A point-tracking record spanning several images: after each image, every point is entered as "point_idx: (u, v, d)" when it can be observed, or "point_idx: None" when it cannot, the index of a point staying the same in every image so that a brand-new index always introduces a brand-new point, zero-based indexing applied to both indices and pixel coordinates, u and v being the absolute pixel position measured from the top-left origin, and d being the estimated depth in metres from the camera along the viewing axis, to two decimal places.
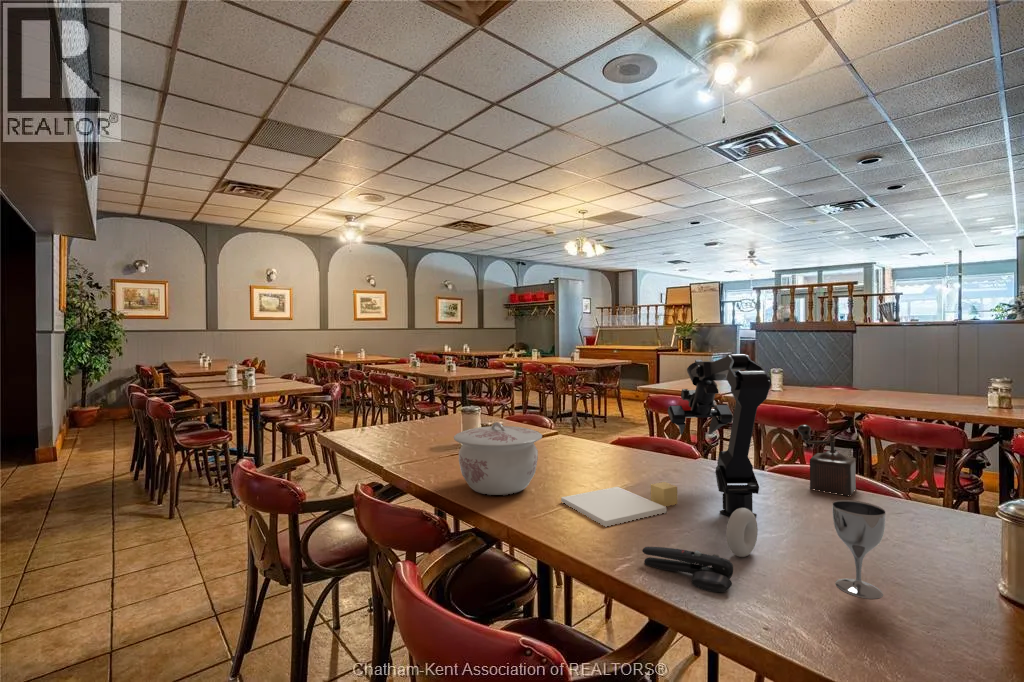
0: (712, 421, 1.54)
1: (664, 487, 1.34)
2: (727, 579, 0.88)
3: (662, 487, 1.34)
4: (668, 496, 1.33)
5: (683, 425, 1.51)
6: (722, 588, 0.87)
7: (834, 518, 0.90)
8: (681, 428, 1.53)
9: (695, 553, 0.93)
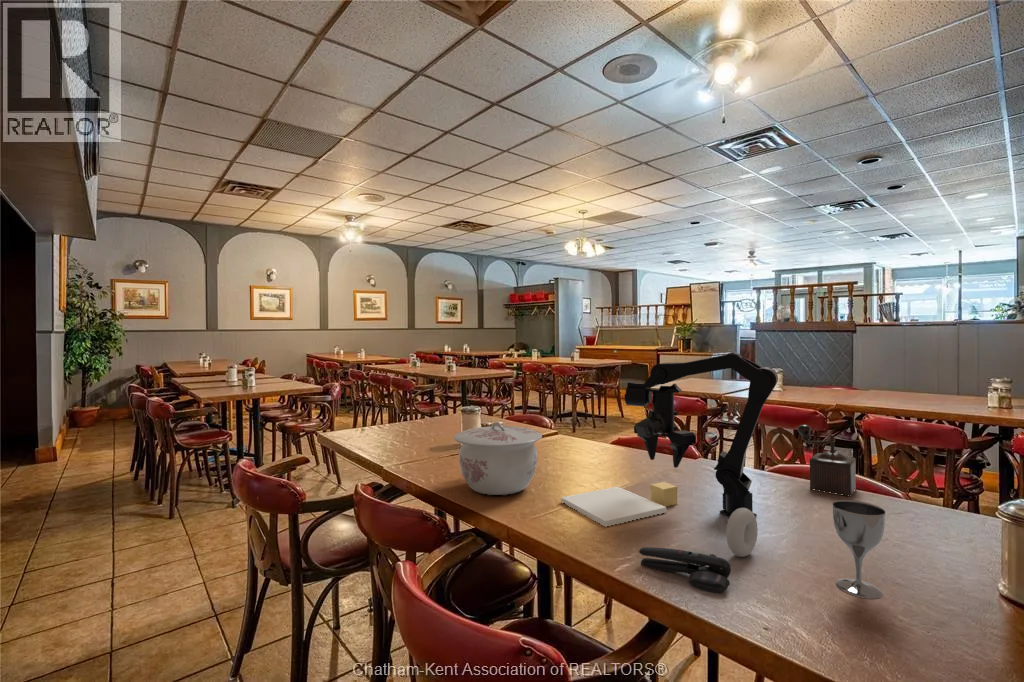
0: (650, 443, 1.40)
1: (664, 487, 1.34)
2: (725, 579, 0.88)
3: (661, 487, 1.34)
4: (667, 496, 1.33)
5: None
6: (720, 588, 0.87)
7: (834, 518, 0.90)
8: None
9: (692, 553, 0.93)
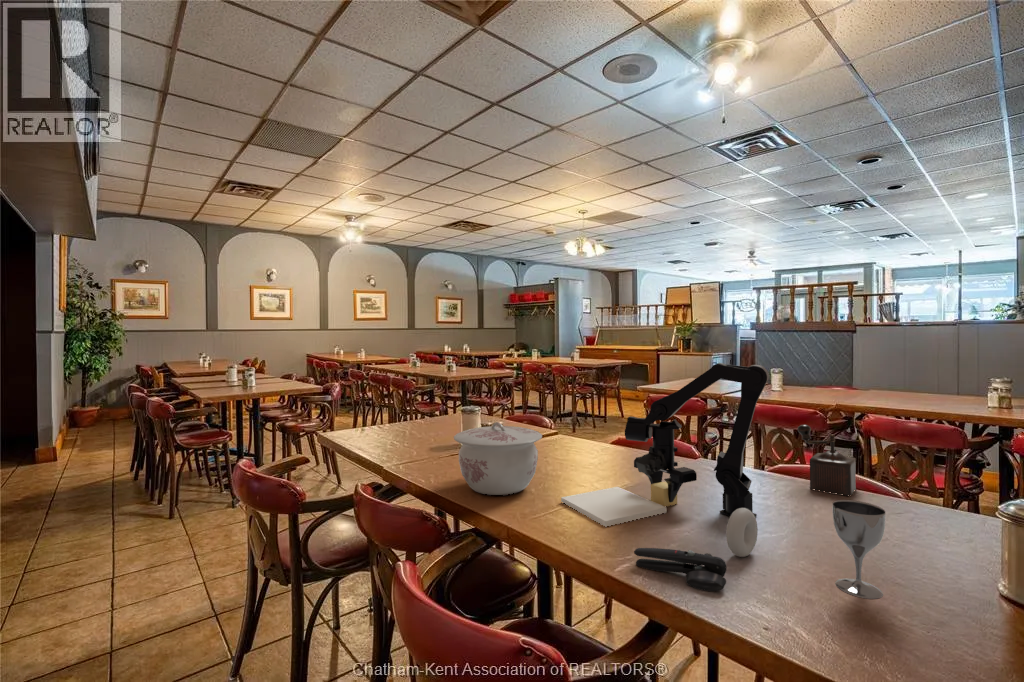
0: (655, 480, 1.38)
1: (664, 487, 1.33)
2: (721, 578, 0.89)
3: (661, 487, 1.34)
4: None
5: None
6: (717, 587, 0.88)
7: (834, 518, 0.90)
8: None
9: (688, 553, 0.93)
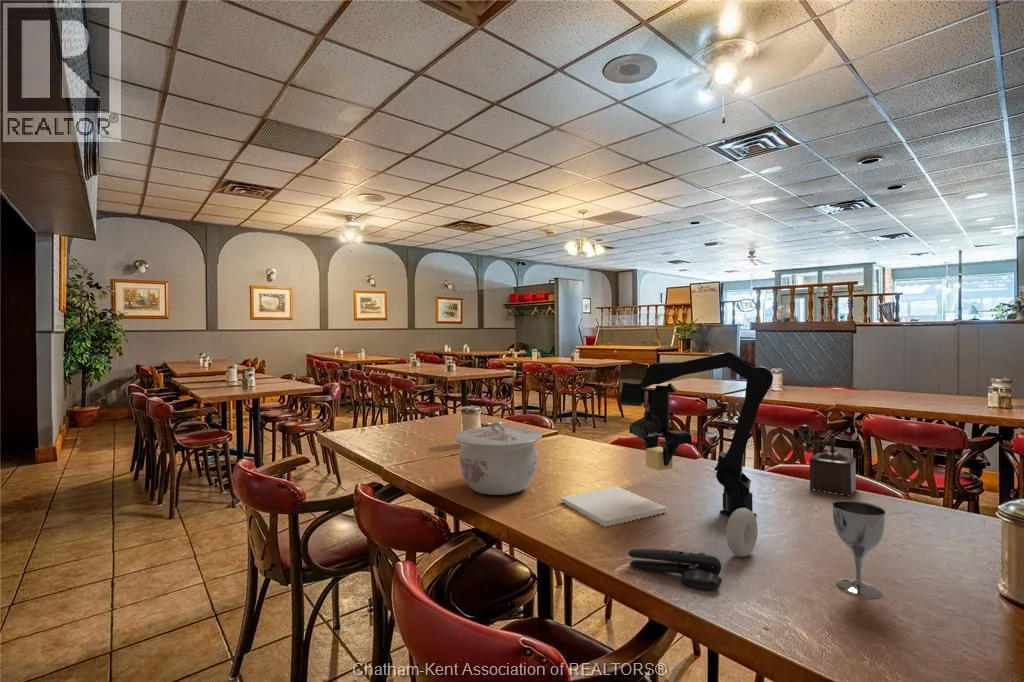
0: (650, 445, 1.37)
1: (659, 450, 1.33)
2: (717, 576, 0.89)
3: (657, 450, 1.33)
4: None
5: None
6: (714, 586, 0.88)
7: (834, 518, 0.90)
8: None
9: (683, 553, 0.93)
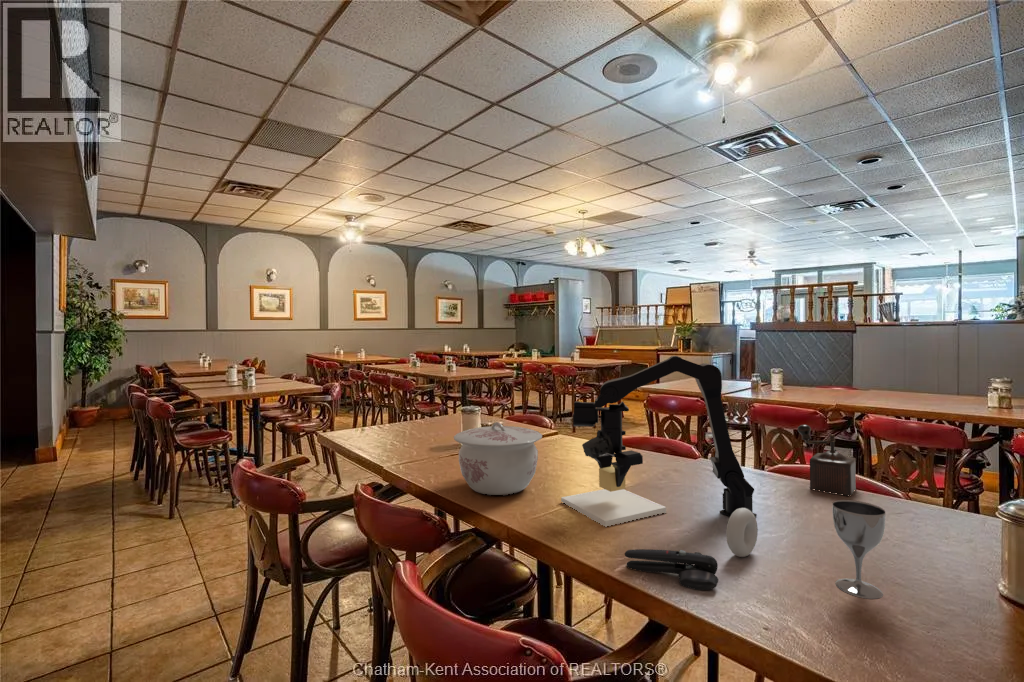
0: (603, 465, 1.34)
1: (611, 471, 1.30)
2: (714, 576, 0.90)
3: (609, 471, 1.30)
4: (615, 480, 1.29)
5: None
6: (711, 585, 0.88)
7: (834, 518, 0.90)
8: None
9: (680, 553, 0.93)
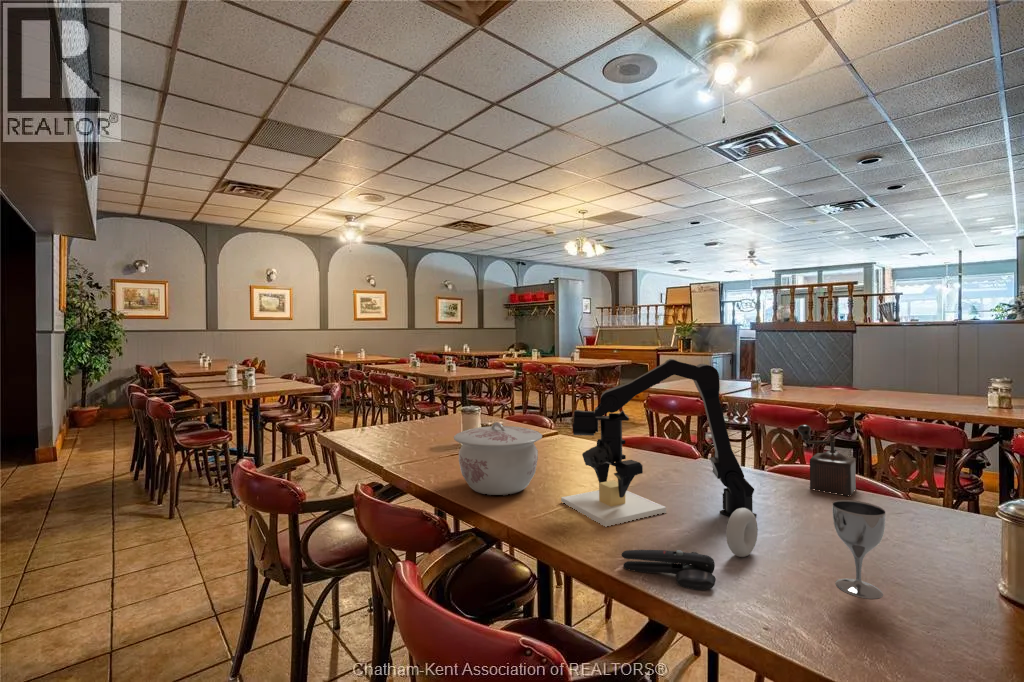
0: (601, 472, 1.36)
1: (611, 485, 1.30)
2: (711, 575, 0.90)
3: (609, 485, 1.30)
4: (615, 494, 1.29)
5: None
6: (709, 585, 0.88)
7: (834, 518, 0.90)
8: None
9: (677, 553, 0.93)
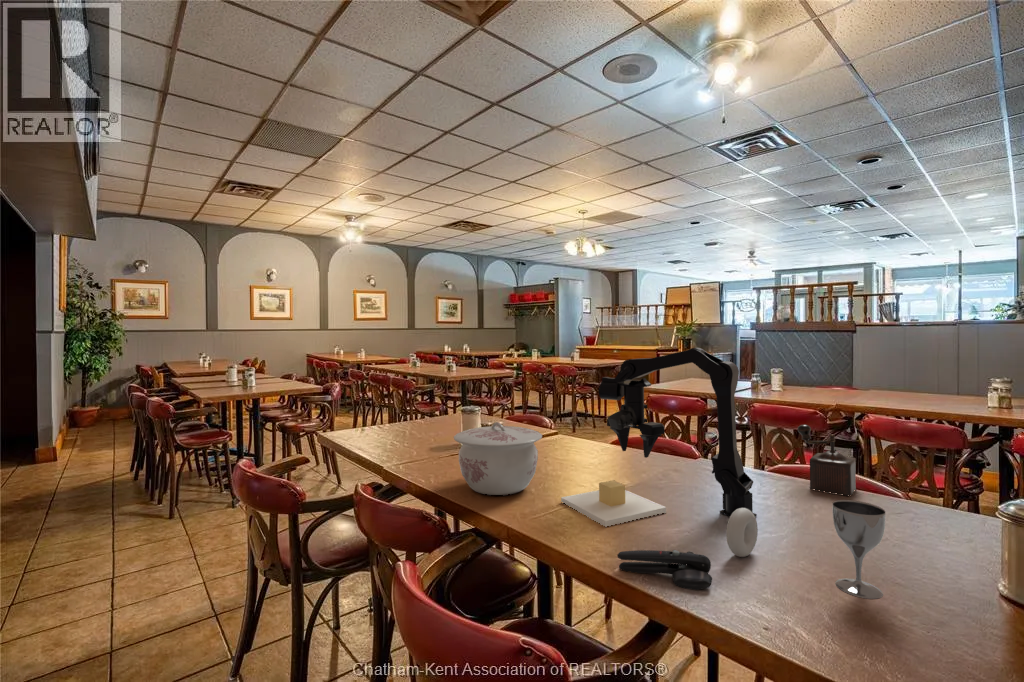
0: (622, 436, 1.47)
1: (611, 485, 1.30)
2: (708, 575, 0.90)
3: (609, 485, 1.30)
4: (615, 494, 1.29)
5: None
6: (705, 585, 0.88)
7: (834, 518, 0.90)
8: None
9: (674, 553, 0.93)
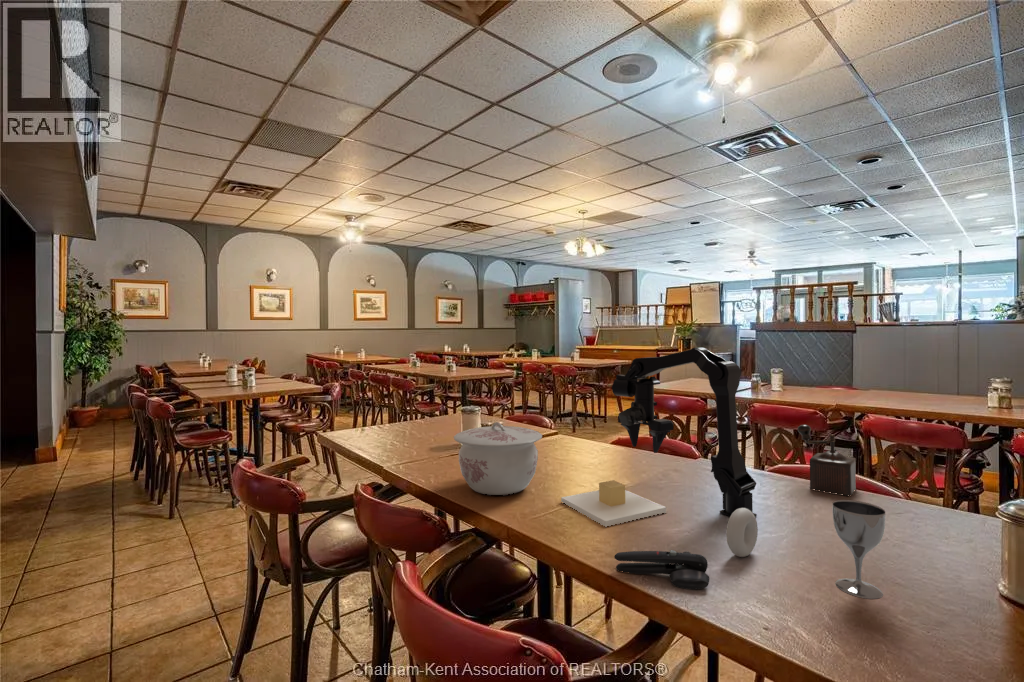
0: (632, 432, 1.52)
1: (611, 485, 1.30)
2: (705, 574, 0.90)
3: (609, 485, 1.30)
4: (615, 494, 1.29)
5: None
6: (703, 584, 0.89)
7: (834, 518, 0.90)
8: None
9: (671, 553, 0.93)
